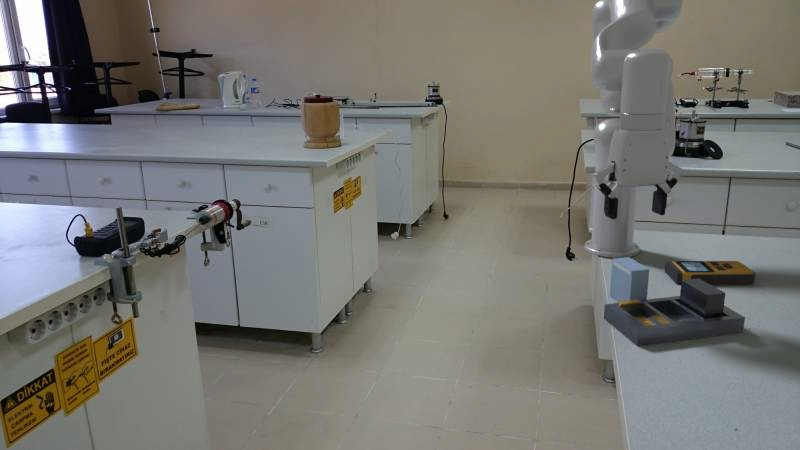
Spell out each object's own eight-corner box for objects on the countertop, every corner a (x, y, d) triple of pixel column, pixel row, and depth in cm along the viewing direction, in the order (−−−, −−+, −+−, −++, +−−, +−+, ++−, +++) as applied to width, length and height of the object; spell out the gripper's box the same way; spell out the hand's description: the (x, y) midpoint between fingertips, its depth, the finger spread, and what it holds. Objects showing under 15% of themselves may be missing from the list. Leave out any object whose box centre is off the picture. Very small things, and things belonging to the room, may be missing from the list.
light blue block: (609, 296, 122) (612, 258, 120) (625, 294, 122) (628, 257, 120) (628, 310, 115) (631, 271, 113) (645, 308, 116) (649, 269, 114)
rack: (603, 318, 112) (606, 284, 110) (701, 306, 116) (704, 273, 114) (637, 346, 102) (640, 308, 100) (743, 332, 105) (748, 295, 103)
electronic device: (756, 288, 125) (758, 272, 124) (677, 287, 126) (678, 272, 125) (737, 273, 133) (739, 258, 132) (663, 272, 134) (665, 258, 133)
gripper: (672, 118, 114) (664, 207, 119) (586, 123, 111) (581, 214, 116) (698, 122, 107) (689, 216, 112) (608, 127, 104) (601, 224, 108)
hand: (634, 215), depth 114 cm, fingers open, 9 cm apart
